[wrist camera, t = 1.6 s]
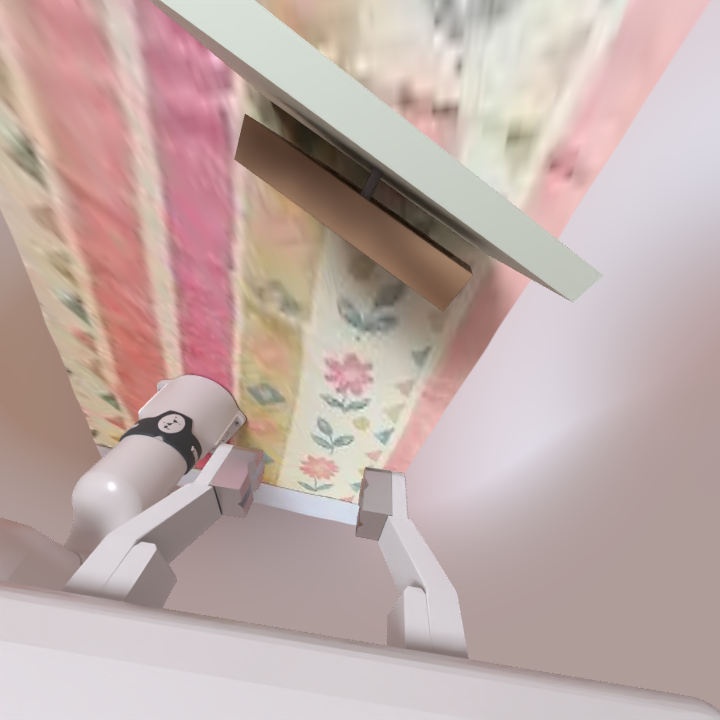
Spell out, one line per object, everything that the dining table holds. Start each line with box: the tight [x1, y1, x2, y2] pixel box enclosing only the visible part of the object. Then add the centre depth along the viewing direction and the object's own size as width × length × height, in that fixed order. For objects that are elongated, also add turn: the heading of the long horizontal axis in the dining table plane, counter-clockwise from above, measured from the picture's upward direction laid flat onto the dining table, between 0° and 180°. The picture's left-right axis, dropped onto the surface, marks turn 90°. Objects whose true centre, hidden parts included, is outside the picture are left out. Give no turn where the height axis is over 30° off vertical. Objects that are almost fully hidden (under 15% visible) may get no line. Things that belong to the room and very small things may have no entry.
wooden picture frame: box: [235, 114, 473, 311], centre depth 25 cm, size 3×20×14 cm, turn 60°
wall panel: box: [149, 0, 603, 302], centre depth 22 cm, size 8×30×22 cm, turn 60°
